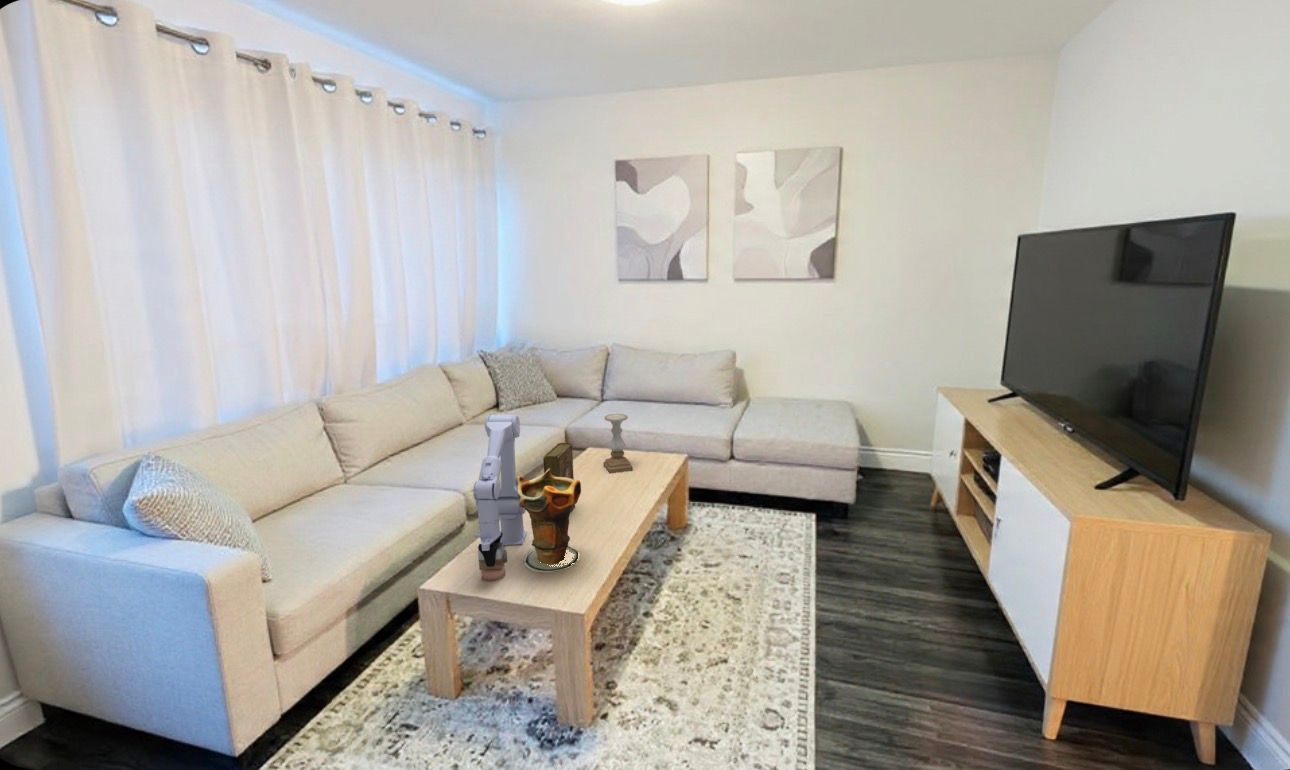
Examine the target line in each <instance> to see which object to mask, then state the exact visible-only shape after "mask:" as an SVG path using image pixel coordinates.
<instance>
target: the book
mask: <svg viewBox="0 0 1290 770" xmlns="http://www.w3.org/2000/svg"><path fill="white" fill-rule="evenodd" d="M573 460H574V459H573V444H572V443H571V442H570V443H569V442H560V443H557V444H556V445H555V446H553V447H552V448H551V449H550V450H549V451H548V452H546V453H545V454H544V455H543V474H544V473H545V472H546V471H547V470H548V469H550V468H551V473H552V475H553V476H555V477H566V478H570V479H573V480H575V477H574V461H573ZM575 508H576V504H575V505H573V506H572V507H571V513H572V512H573V511H574V510H575Z"/></svg>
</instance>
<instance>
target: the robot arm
mask: <svg viewBox="0 0 1290 770" xmlns="http://www.w3.org/2000/svg"><path fill="white" fill-rule="evenodd" d="M520 426H521V425H520V418H519V415H518V414H517V413H514V414H491V413H490V414H487V416H486V417H485V419H484V429H485V432H486V435H487V437H488V438H489V439H488V446H487V455H486V457H484V458H483V459H482V462H481V466H480V471H479V476H478V480H477V481H474V484H473V489H472V492H473V500H475V506H476V507H477V513H478V514H477V515H478V526H479V527H478V528H479V532H476V533H475V537H476V538H479V539H480V543H479V544H478V547H477V548H478V549H479V551H480V552H481V553H482V555H483V557H484V560H485V563H486V565H487V567H494V565H495V557H496V550H497V548H498V545H499V544H493V543H503V546H515V545H517V546H518V545H523V544H524V542H525V539H526V536H527V530H524V528H525V527H524V518H523V517H524V516H523V515H524V514H525V513H526V512H527V511H526V510H525V508H523V507H520V506H519V502H518V494H517V487H516V483H515V481H516V478H517V475H516V474H517V473H516V471H517V470H516V449H515V441H516V439H517V438H519V437H520V435H521V434H520V433H521V428H520ZM500 478H501V479H500ZM500 480H501V482H500ZM500 483H501V485H500ZM500 486H501V487H500ZM481 543H482V544H481ZM478 549H477V550H478Z"/></svg>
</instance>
